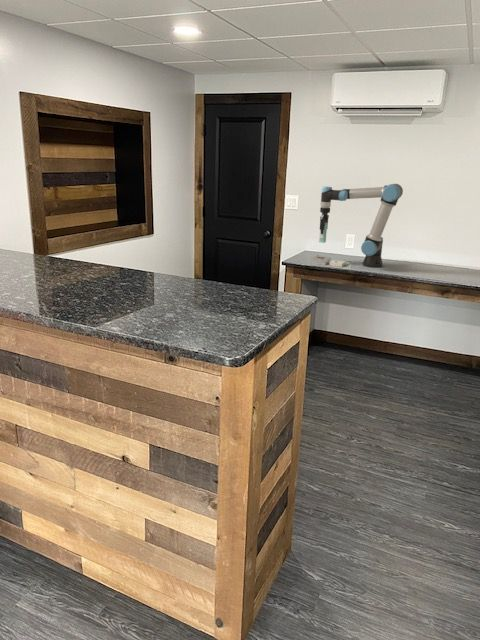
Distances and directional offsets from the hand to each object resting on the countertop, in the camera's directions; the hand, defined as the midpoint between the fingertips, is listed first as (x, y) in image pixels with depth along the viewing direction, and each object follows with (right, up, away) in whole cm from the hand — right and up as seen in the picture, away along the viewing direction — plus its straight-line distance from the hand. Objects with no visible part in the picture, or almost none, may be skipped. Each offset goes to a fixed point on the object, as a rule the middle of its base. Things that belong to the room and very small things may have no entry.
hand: (322, 237), depth 396 cm
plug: (0, -3, +1) cm, 4 cm away
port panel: (-1, -19, +7) cm, 20 cm away
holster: (+12, -21, 0) cm, 24 cm away
